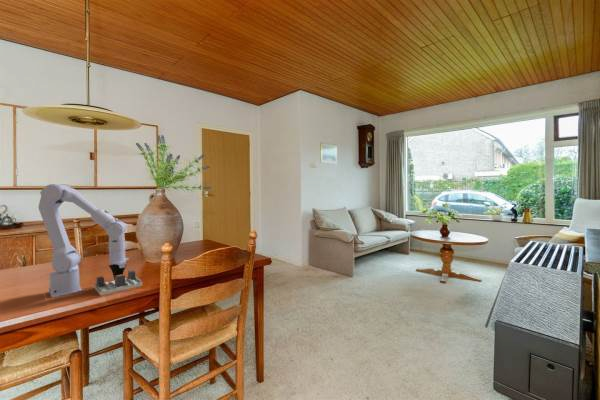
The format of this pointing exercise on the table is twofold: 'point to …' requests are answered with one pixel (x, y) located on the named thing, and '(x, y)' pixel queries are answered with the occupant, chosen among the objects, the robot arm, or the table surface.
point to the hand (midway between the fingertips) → (118, 281)
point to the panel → (111, 287)
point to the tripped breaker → (120, 280)
